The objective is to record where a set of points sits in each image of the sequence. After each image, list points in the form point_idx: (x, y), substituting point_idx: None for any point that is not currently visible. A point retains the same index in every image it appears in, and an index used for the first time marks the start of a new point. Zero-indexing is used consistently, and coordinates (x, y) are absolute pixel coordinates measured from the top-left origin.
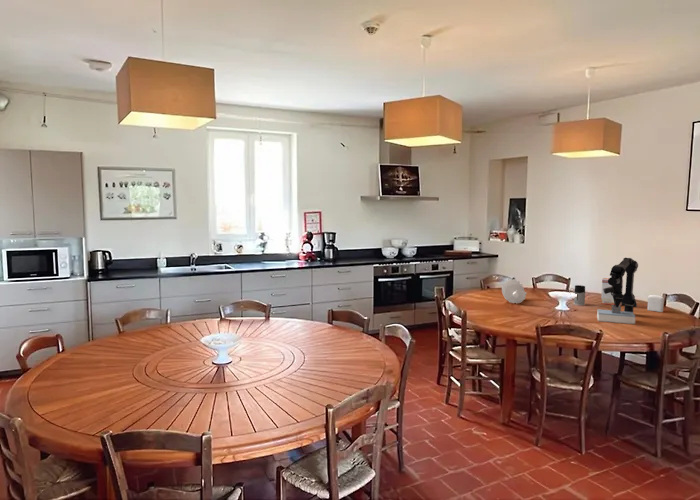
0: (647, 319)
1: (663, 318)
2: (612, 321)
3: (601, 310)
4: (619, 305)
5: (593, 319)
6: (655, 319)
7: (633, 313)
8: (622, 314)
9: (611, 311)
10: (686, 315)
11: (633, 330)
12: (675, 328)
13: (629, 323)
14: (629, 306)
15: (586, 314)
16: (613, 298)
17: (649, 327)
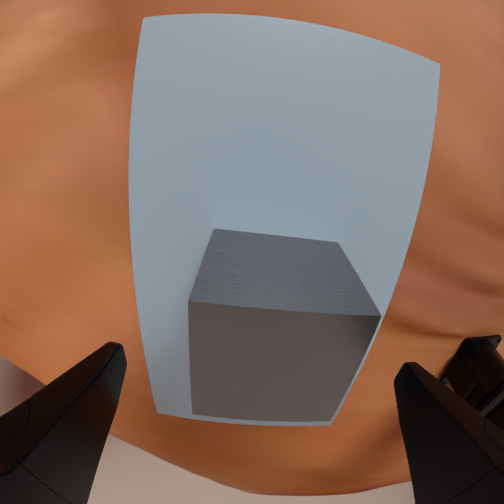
0: (351, 426)
1: (371, 458)
2: None
3: (375, 93)
4: (300, 415)
5: (251, 9)
6: (352, 445)
7: (272, 425)
8: (173, 338)
9: (332, 242)
10: (406, 479)
11: (10, 293)
12: (181, 462)
13: None
14: (482, 405)
15: (460, 26)
16: (497, 432)
17: (134, 399)
